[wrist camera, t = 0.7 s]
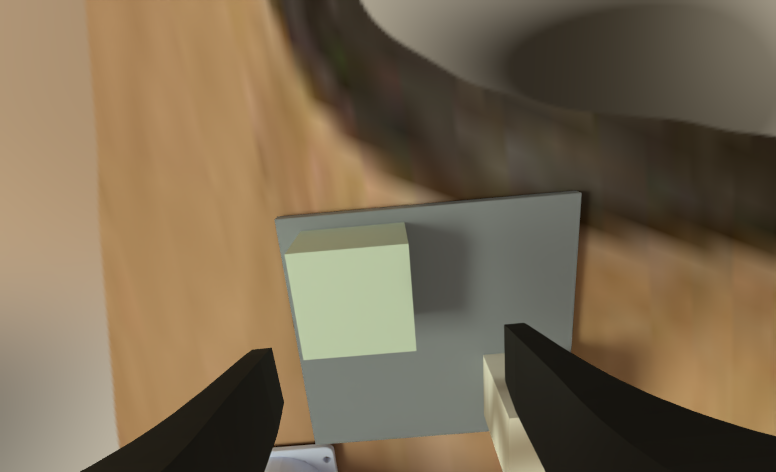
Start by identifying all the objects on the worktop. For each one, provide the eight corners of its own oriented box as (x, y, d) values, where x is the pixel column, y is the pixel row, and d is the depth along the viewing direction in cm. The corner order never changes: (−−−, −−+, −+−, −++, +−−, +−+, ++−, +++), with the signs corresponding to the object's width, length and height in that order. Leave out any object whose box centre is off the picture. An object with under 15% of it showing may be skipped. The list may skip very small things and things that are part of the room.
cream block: (554, 409, 24) (596, 482, 19) (483, 415, 24) (508, 488, 20) (557, 348, 23) (603, 411, 18) (483, 354, 23) (509, 418, 18)
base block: (411, 314, 22) (416, 351, 19) (315, 322, 22) (303, 360, 19) (404, 222, 20) (408, 243, 17) (300, 231, 20) (284, 254, 17)
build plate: (562, 418, 25) (566, 425, 25) (317, 437, 25) (315, 444, 25) (576, 190, 21) (581, 192, 20) (277, 216, 21) (274, 219, 20)
